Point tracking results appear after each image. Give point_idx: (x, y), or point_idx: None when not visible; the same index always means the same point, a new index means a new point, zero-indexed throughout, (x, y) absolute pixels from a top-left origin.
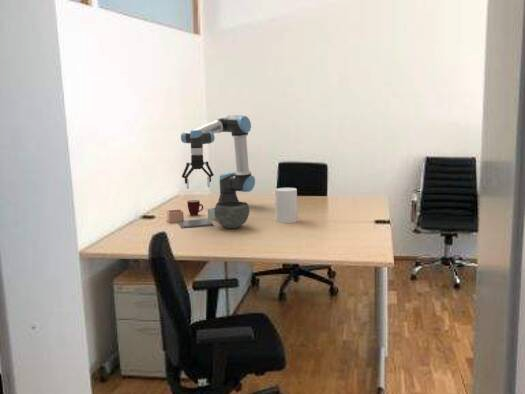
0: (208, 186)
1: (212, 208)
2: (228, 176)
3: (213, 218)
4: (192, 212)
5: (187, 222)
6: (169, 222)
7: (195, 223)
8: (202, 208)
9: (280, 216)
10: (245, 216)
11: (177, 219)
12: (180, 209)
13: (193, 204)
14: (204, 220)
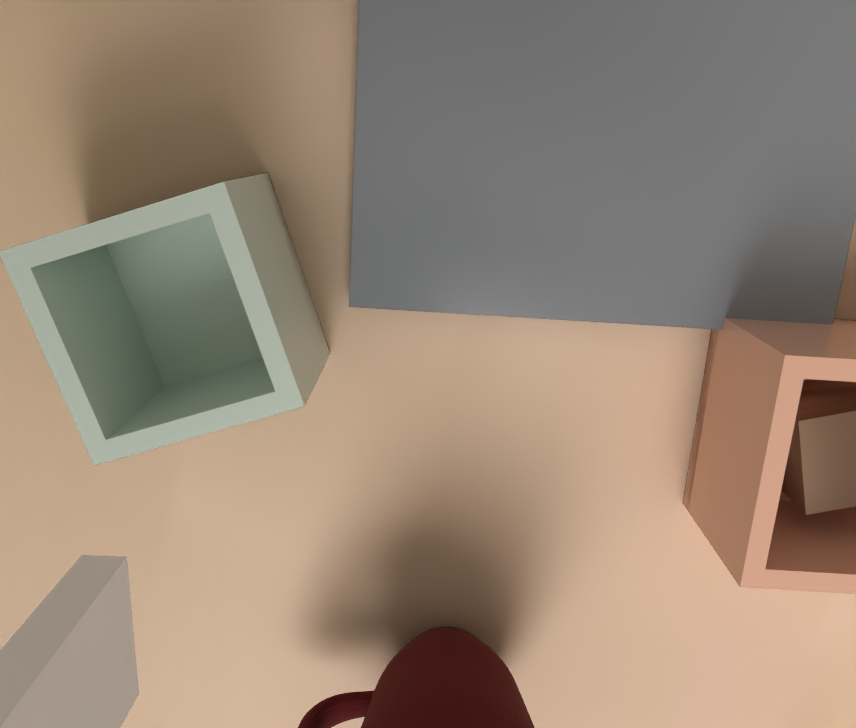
0: (115, 592)
1: (212, 409)
2: None
3: (273, 215)
4: (485, 650)
5: (715, 174)
6: None
7: (628, 34)
8: (312, 718)
9: None
10: None
11: (833, 331)
12: (751, 570)
13: (478, 717)
14: (431, 188)
